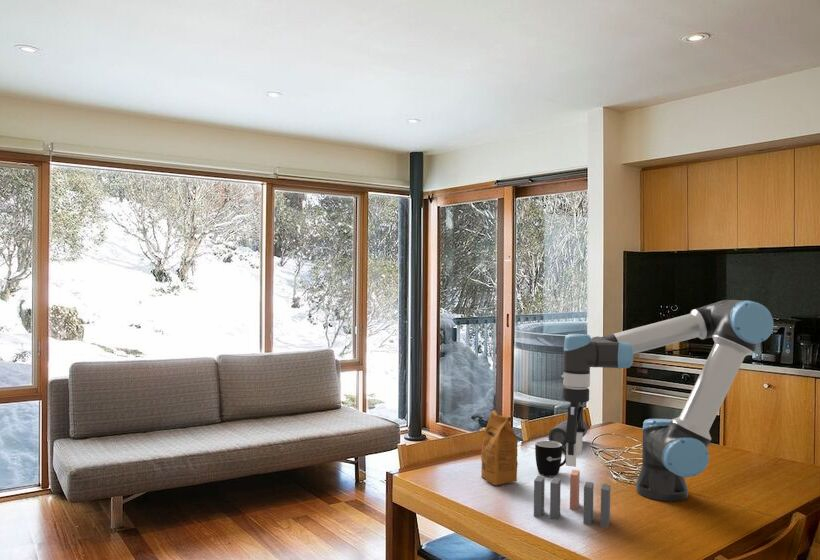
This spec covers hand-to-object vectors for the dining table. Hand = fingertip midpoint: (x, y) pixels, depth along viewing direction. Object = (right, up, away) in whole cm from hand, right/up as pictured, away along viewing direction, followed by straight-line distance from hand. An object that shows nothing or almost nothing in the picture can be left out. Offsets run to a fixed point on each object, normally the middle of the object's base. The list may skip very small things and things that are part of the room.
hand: (574, 459), depth 188 cm
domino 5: (+5, -14, -13) cm, 20 cm away
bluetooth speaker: (+15, -14, +68) cm, 71 cm away
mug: (+1, -14, +32) cm, 35 cm away
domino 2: (-7, -14, -8) cm, 17 cm away
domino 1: (-12, -14, -6) cm, 19 cm away
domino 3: (0, -14, 0) cm, 14 cm away
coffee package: (-19, -14, +24) cm, 33 cm away
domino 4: (+1, -14, -11) cm, 18 cm away
